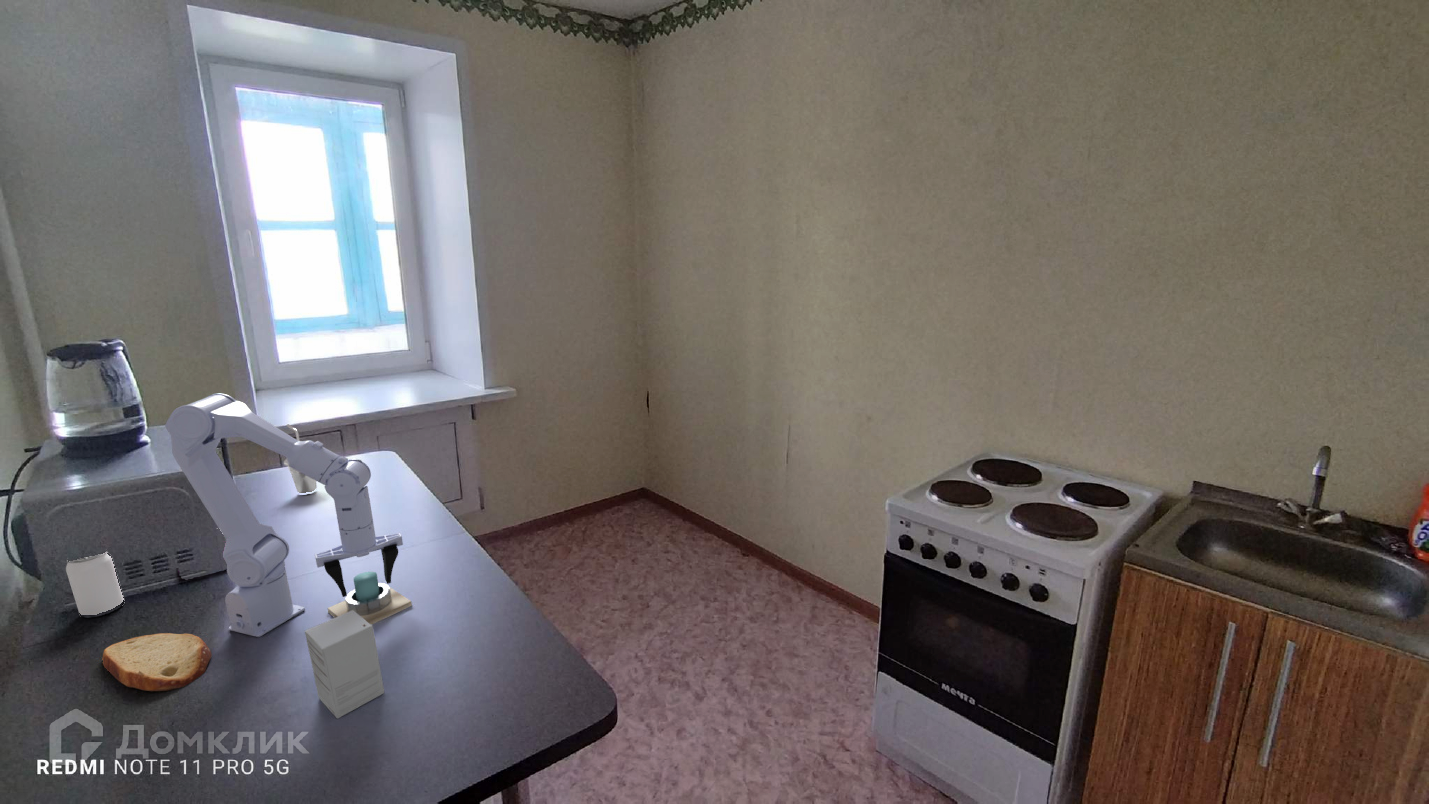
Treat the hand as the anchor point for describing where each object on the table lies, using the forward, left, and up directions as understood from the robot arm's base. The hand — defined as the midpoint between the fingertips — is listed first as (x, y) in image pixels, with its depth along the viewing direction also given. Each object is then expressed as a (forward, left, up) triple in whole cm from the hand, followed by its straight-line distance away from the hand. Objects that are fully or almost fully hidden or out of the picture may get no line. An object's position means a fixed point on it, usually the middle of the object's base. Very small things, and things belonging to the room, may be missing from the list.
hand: (366, 587), depth 121 cm
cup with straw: (+41, +66, -5) cm, 78 cm away
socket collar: (0, 0, -5) cm, 5 cm away
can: (-16, +51, -5) cm, 54 cm away
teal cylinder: (0, 0, -4) cm, 4 cm away
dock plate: (0, 0, -5) cm, 5 cm away
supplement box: (-20, -17, -5) cm, 27 cm away
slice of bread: (-24, +22, -5) cm, 34 cm away
